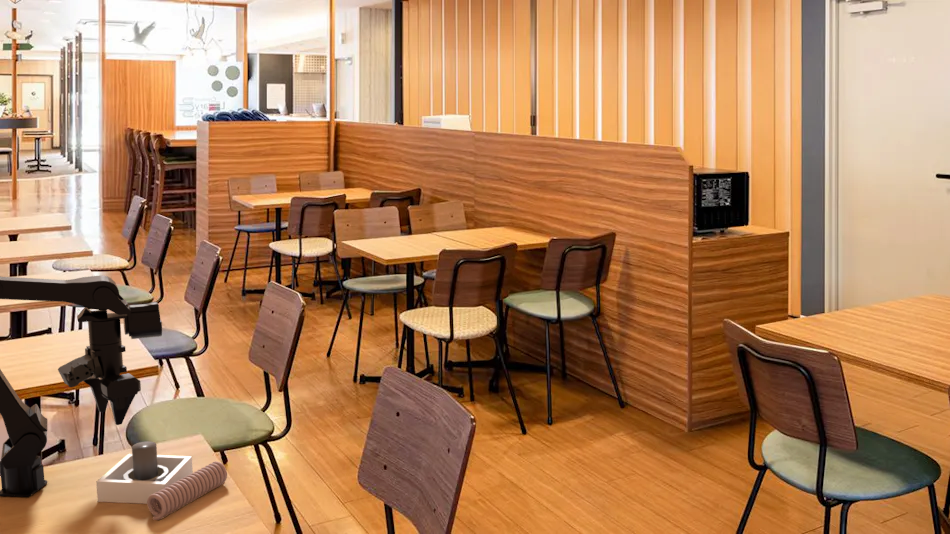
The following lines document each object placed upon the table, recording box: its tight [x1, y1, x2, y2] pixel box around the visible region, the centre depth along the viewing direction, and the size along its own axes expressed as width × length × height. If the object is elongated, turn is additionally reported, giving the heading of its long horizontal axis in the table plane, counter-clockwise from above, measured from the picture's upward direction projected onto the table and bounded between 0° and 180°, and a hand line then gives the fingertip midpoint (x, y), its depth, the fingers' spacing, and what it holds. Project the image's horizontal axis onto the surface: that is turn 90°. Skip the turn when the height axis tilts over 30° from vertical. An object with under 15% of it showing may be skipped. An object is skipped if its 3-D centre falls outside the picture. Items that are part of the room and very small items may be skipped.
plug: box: [131, 440, 158, 480], centre depth 163 cm, size 4×4×8 cm
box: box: [95, 453, 194, 505], centre depth 164 cm, size 13×13×4 cm
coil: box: [146, 460, 228, 521], centre depth 159 cm, size 5×5×18 cm
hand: (110, 418), depth 167 cm, fingers open, 9 cm apart
